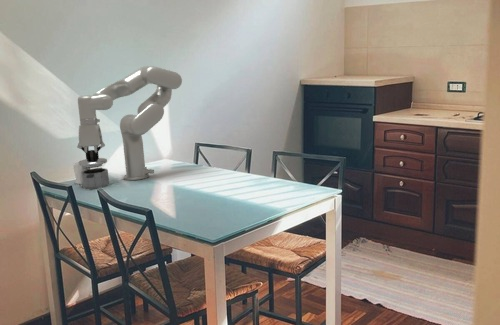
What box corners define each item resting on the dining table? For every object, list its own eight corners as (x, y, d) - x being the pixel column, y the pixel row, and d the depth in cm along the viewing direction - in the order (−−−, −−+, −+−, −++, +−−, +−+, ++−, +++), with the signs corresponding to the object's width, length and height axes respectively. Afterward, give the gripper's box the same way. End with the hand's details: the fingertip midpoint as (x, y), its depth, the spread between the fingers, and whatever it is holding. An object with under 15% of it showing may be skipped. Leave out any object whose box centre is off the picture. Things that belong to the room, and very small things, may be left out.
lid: (110, 162, 262) (108, 147, 261) (103, 168, 250) (101, 152, 248) (83, 163, 263) (82, 148, 261) (75, 169, 250) (73, 153, 248)
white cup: (87, 184, 261) (84, 164, 259) (72, 184, 262) (70, 164, 260) (95, 180, 268) (92, 161, 266) (80, 180, 270) (78, 161, 268)
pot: (113, 180, 267) (111, 166, 265) (103, 189, 250) (101, 174, 248) (88, 181, 267) (87, 167, 265) (77, 190, 250) (76, 176, 248)
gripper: (107, 120, 255) (111, 158, 259) (73, 121, 256) (78, 159, 259) (103, 122, 248) (107, 161, 252) (68, 124, 248) (73, 163, 252)
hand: (92, 160), depth 256 cm, fingers closed on lid, 2 cm apart
